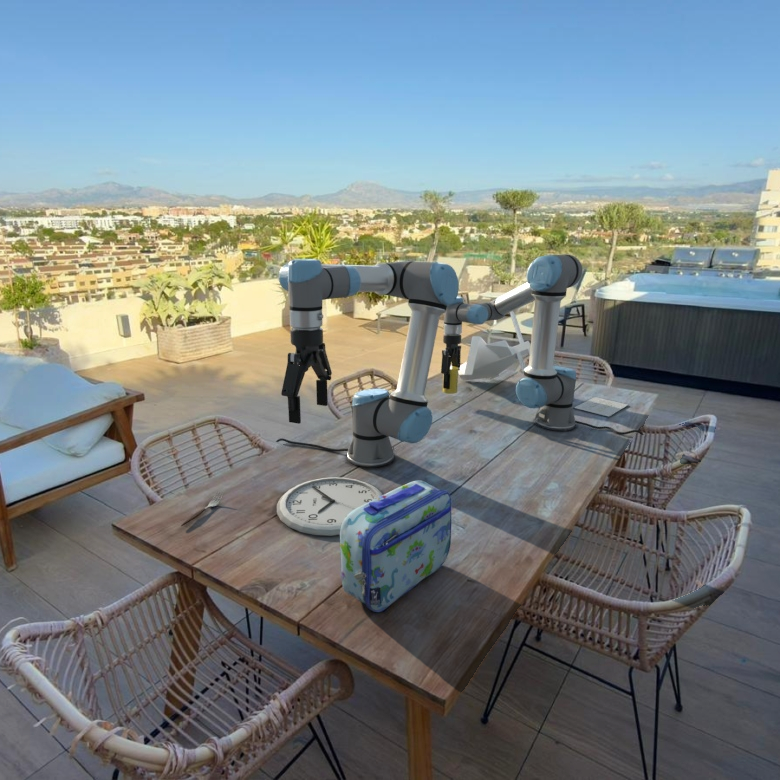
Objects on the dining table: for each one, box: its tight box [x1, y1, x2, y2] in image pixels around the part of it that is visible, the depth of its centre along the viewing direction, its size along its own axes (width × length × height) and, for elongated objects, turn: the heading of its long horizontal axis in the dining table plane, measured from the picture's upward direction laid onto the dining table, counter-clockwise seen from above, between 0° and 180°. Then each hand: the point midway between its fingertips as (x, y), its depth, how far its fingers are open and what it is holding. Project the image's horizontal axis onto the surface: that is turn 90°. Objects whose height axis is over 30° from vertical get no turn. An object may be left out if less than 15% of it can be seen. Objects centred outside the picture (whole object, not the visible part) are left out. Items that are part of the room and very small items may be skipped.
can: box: [442, 365, 459, 395], centre depth 226 cm, size 6×6×11 cm
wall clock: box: [276, 476, 385, 537], centre depth 142 cm, size 30×2×30 cm
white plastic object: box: [458, 311, 531, 381], centre depth 252 cm, size 37×45×31 cm
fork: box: [180, 491, 225, 527], centre depth 138 cm, size 3×16×2 cm, turn 160°
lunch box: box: [339, 479, 452, 613], centre depth 109 cm, size 26×11×21 cm, turn 134°
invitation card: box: [573, 396, 629, 418], centre depth 226 cm, size 21×1×15 cm
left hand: (309, 413), depth 128 cm, fingers open, 13 cm apart
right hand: (450, 386), depth 226 cm, fingers closed on can, 6 cm apart
